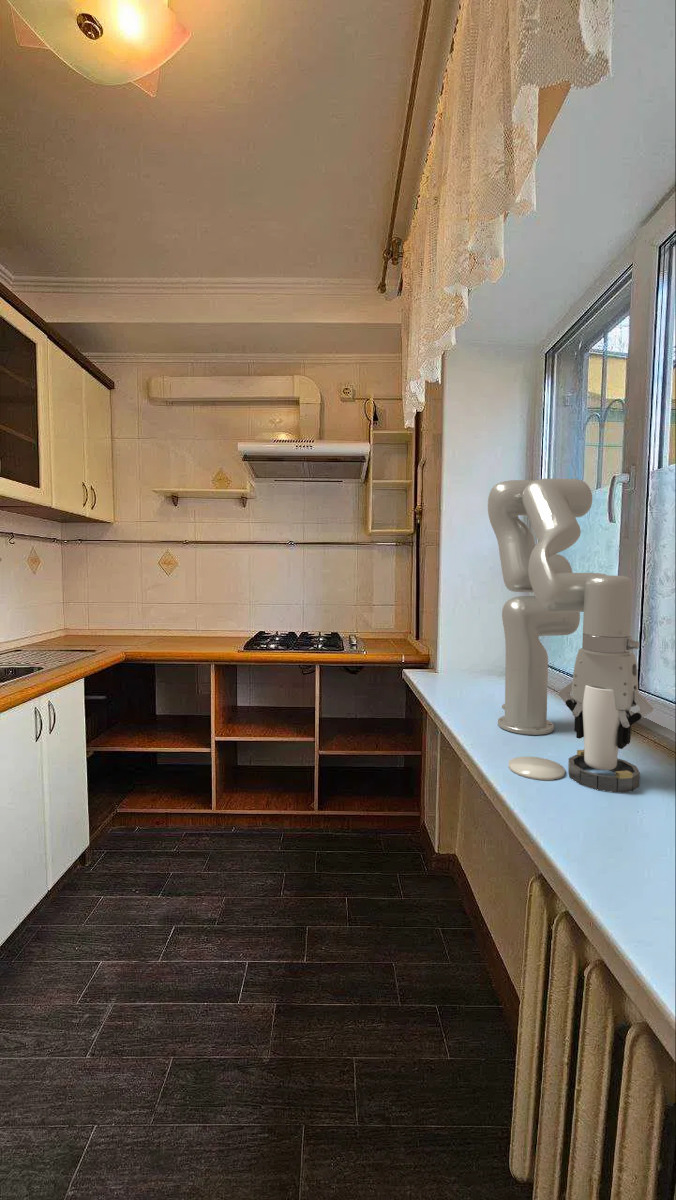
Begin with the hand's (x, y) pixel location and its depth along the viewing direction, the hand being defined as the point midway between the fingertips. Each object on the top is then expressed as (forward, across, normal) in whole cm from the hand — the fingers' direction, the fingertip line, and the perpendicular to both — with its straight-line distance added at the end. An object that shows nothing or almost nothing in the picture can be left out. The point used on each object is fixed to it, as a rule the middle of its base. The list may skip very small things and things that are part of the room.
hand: (601, 740), depth 92 cm
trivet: (+7, +10, +5) cm, 13 cm away
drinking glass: (+5, 0, 0) cm, 5 cm away
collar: (+7, -1, 0) cm, 7 cm away
